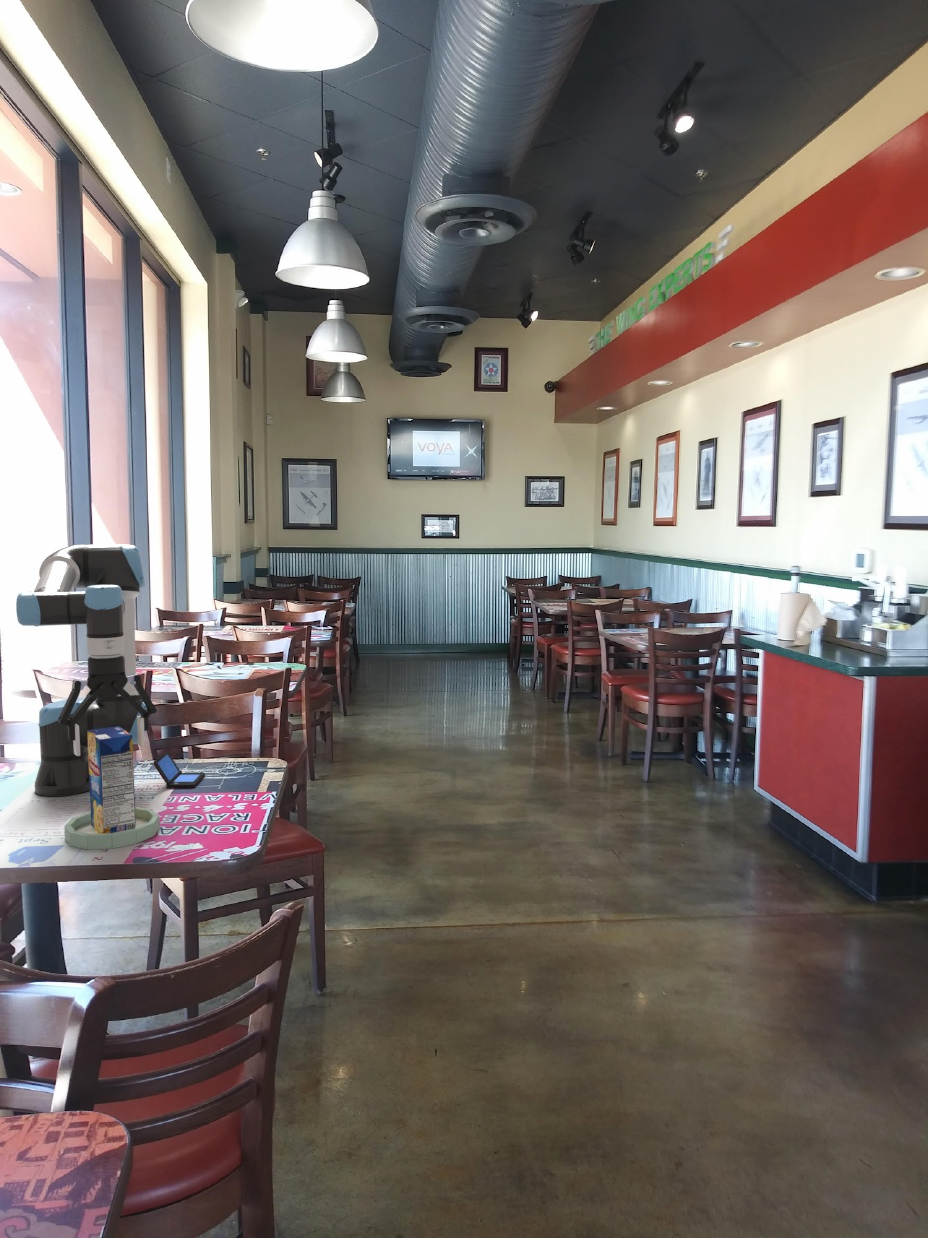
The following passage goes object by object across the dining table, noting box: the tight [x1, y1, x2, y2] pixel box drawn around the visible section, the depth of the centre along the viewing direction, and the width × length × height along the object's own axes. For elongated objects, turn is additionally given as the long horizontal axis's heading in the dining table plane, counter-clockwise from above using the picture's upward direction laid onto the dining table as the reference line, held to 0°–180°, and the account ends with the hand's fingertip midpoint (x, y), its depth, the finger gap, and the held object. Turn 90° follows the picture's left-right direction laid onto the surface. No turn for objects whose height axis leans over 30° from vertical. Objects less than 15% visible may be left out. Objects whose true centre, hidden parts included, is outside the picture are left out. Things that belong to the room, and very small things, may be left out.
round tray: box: [64, 806, 161, 850], centre depth 191 cm, size 19×19×3 cm
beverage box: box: [87, 726, 136, 833], centre depth 190 cm, size 7×11×22 cm, turn 36°
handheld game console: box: [153, 751, 206, 789], centre depth 230 cm, size 12×11×7 cm
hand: (109, 750), depth 189 cm, fingers open, 13 cm apart
